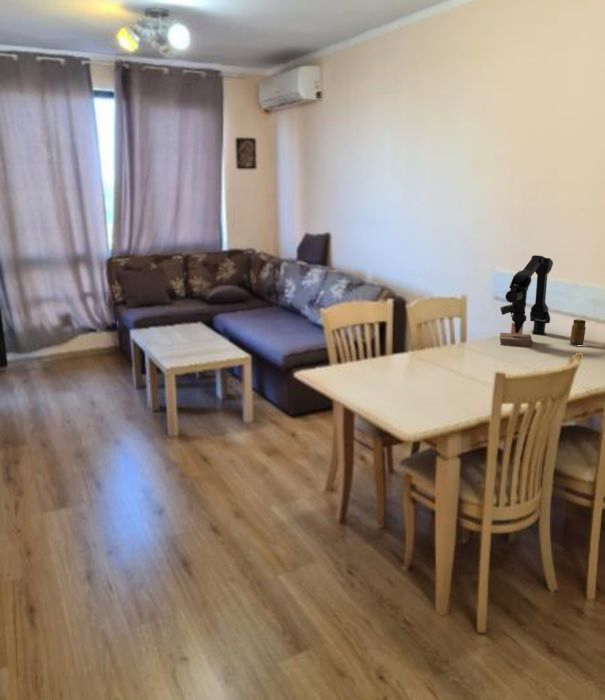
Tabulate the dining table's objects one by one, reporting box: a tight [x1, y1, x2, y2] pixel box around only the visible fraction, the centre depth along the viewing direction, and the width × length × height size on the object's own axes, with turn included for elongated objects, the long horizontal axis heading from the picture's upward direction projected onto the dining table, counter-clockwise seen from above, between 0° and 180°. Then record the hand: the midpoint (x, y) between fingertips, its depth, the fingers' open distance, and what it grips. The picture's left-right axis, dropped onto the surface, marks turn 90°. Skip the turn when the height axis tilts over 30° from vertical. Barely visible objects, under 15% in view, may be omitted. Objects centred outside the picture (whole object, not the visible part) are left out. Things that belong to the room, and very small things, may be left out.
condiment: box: [569, 318, 587, 348], centre depth 290 cm, size 7×8×12 cm
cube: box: [510, 322, 524, 335], centre depth 292 cm, size 5×5×5 cm
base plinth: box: [499, 332, 533, 348], centre depth 294 cm, size 14×14×3 cm
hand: (516, 331), depth 293 cm, fingers closed on cube, 5 cm apart
